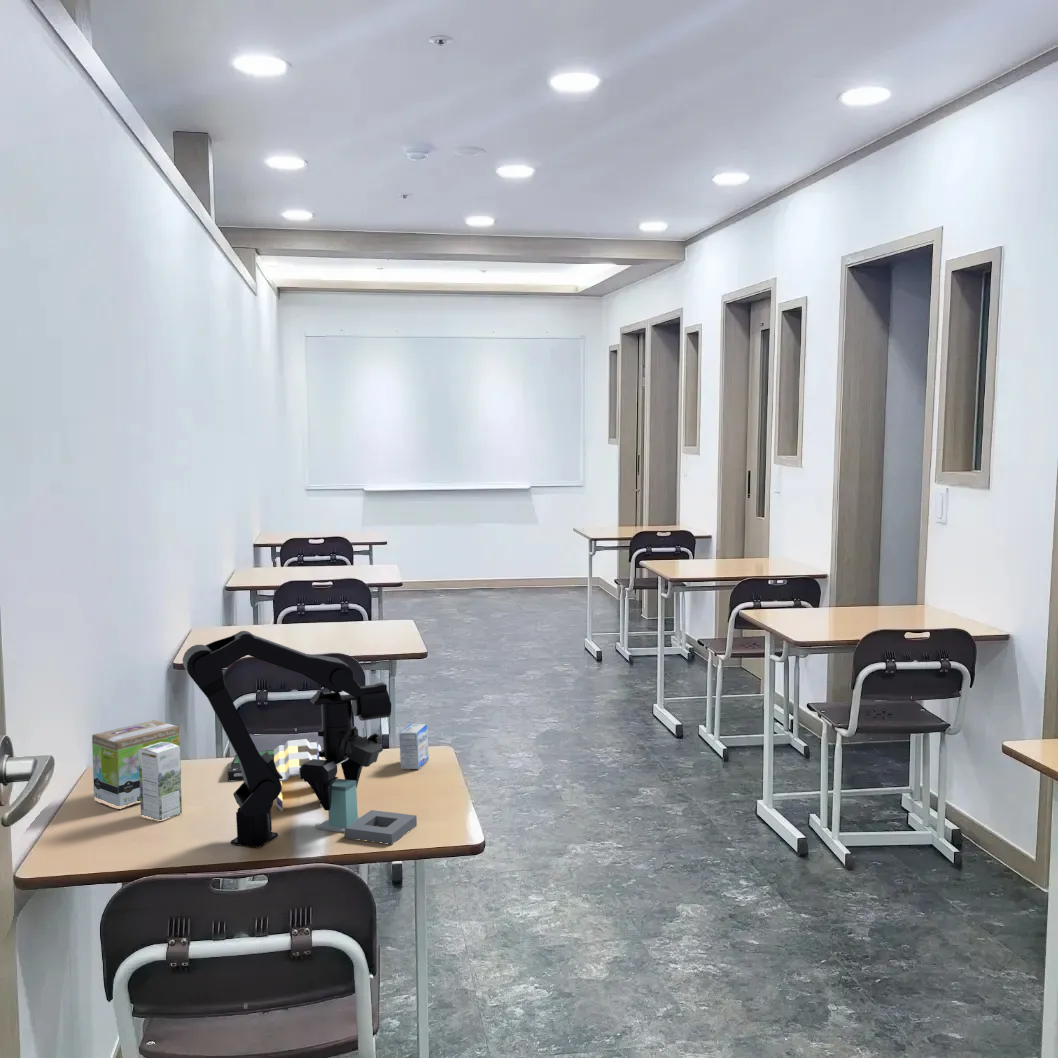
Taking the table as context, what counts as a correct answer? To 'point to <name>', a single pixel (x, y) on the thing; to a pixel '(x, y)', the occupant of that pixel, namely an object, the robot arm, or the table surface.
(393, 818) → the socket
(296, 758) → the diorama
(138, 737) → the tea box
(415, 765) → the medicine box
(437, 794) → the table surface
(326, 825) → the pad
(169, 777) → the syrup box
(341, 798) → the plug
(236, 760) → the disk drive
